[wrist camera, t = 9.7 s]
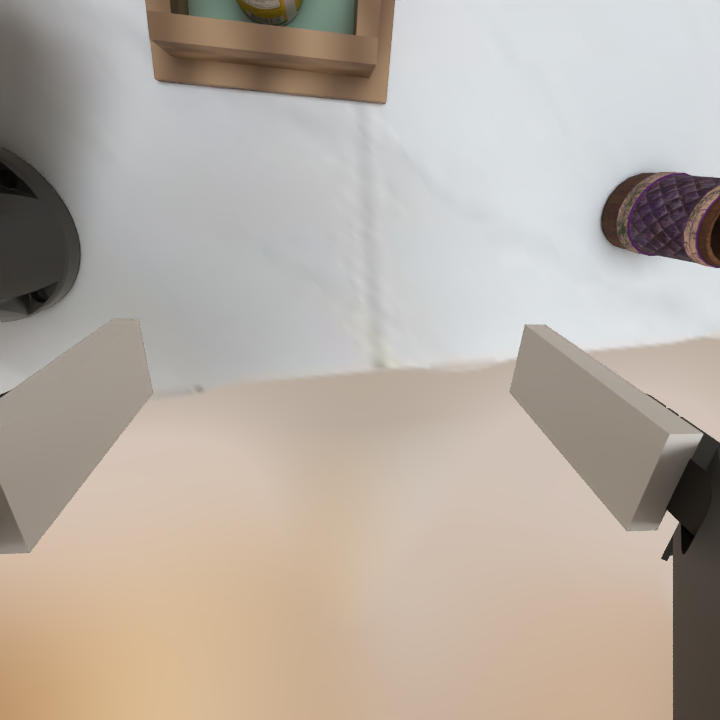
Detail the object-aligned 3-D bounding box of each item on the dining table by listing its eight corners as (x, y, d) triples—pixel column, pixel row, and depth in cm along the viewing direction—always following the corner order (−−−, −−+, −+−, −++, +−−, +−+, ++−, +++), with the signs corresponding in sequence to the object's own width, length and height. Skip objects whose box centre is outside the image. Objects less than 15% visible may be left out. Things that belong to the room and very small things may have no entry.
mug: (595, 254, 41) (693, 284, 30) (603, 178, 38) (716, 181, 27) (693, 237, 41) (827, 262, 30) (709, 161, 38) (864, 156, 27)
